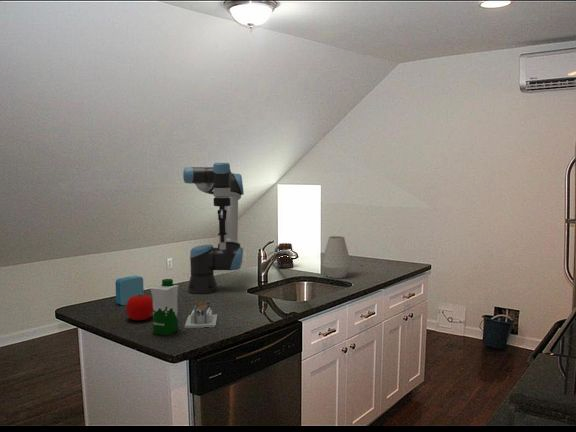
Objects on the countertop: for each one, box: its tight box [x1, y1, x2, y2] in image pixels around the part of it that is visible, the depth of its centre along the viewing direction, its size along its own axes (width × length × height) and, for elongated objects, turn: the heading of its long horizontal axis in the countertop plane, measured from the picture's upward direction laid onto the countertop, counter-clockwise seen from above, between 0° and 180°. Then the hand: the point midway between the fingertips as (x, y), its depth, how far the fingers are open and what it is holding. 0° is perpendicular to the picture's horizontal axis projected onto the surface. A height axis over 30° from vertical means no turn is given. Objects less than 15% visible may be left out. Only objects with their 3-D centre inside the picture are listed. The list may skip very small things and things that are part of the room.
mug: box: [274, 242, 294, 270], centre depth 309 cm, size 16×11×15 cm
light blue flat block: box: [115, 275, 145, 306], centre depth 230 cm, size 12×4×12 cm, turn 139°
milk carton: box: [149, 278, 179, 337], centre depth 188 cm, size 9×9×20 cm
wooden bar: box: [197, 300, 206, 313], centre depth 201 cm, size 11×3×2 cm, turn 5°
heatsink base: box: [184, 300, 218, 329], centre depth 201 cm, size 14×12×8 cm
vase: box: [320, 235, 352, 279], centre depth 285 cm, size 18×17×23 cm
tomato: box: [125, 294, 153, 321], centre depth 205 cm, size 11×12×10 cm
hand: (222, 249), depth 222 cm, fingers closed
